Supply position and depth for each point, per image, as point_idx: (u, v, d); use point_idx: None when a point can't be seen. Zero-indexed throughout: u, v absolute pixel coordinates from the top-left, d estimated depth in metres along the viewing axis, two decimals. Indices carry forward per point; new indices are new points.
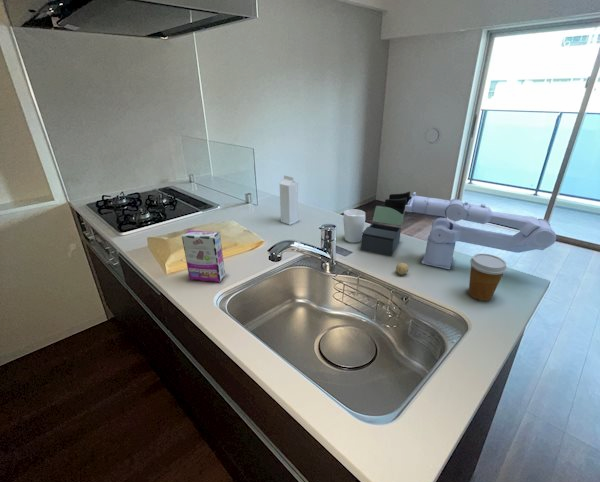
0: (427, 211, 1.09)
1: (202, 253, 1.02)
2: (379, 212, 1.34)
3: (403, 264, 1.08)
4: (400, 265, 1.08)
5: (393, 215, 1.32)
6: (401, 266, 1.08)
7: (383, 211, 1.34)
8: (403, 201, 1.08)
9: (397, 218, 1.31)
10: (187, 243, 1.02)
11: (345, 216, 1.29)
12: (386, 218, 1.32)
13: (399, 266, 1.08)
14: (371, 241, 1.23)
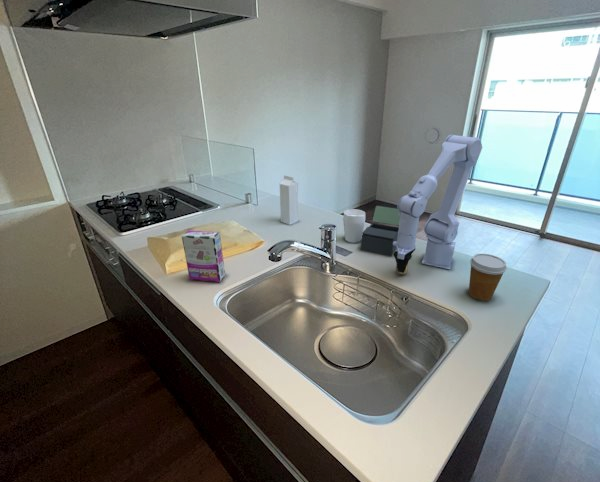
0: (416, 232, 1.02)
1: (202, 253, 1.02)
2: (379, 212, 1.34)
3: None
4: None
5: (393, 215, 1.32)
6: None
7: (383, 211, 1.34)
8: (395, 256, 1.04)
9: (397, 218, 1.31)
10: (187, 243, 1.02)
11: (345, 216, 1.29)
12: (386, 218, 1.32)
13: None
14: (371, 241, 1.23)
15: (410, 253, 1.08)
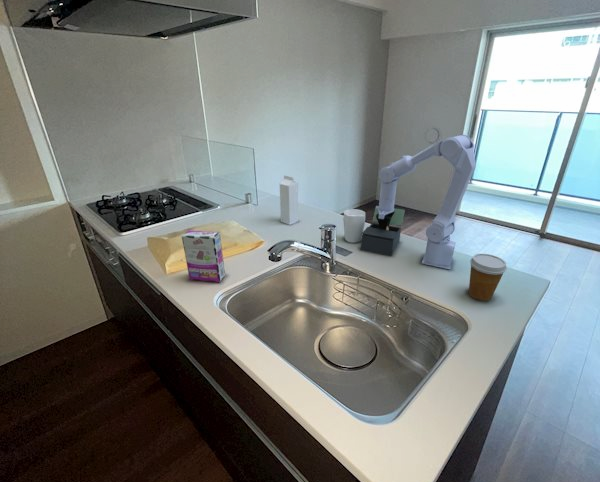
0: (386, 197, 1.21)
1: (202, 253, 1.02)
2: None
3: None
4: None
5: (393, 215, 1.32)
6: None
7: None
8: (377, 217, 1.24)
9: (397, 218, 1.31)
10: (187, 243, 1.02)
11: (345, 216, 1.29)
12: None
13: None
14: (371, 241, 1.23)
15: (390, 216, 1.28)
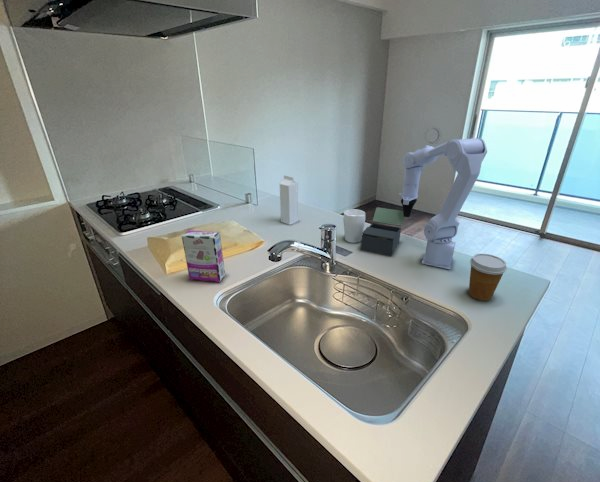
0: (407, 183, 1.23)
1: (202, 253, 1.02)
2: (379, 213, 1.35)
3: None
4: None
5: (393, 216, 1.32)
6: None
7: (383, 212, 1.35)
8: (402, 202, 1.27)
9: (397, 218, 1.31)
10: (187, 243, 1.02)
11: (345, 216, 1.29)
12: (387, 219, 1.33)
13: None
14: (371, 241, 1.23)
15: None
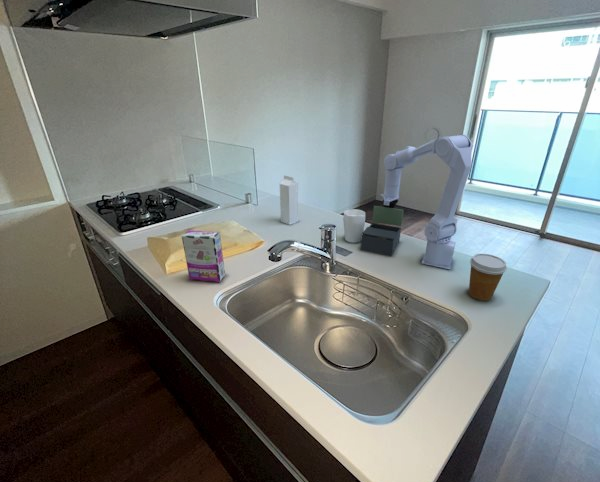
0: (389, 184, 1.25)
1: (202, 253, 1.02)
2: (378, 212, 1.32)
3: None
4: None
5: (392, 215, 1.30)
6: None
7: (381, 211, 1.31)
8: (384, 203, 1.29)
9: (396, 218, 1.29)
10: (187, 243, 1.02)
11: (345, 216, 1.29)
12: (386, 219, 1.31)
13: None
14: (371, 241, 1.23)
15: None
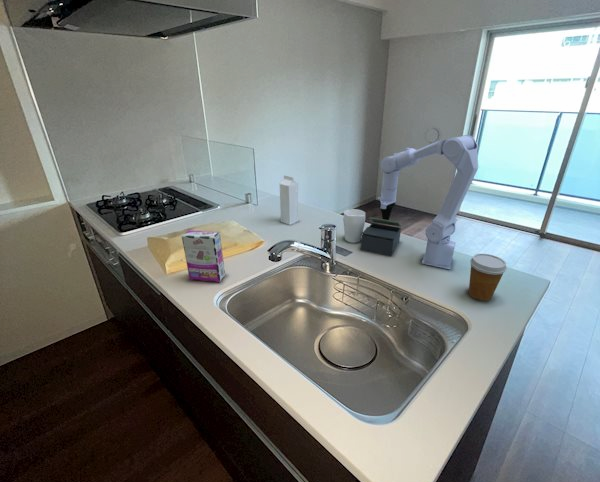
0: (388, 187, 1.21)
1: (202, 253, 1.02)
2: (375, 220, 1.30)
3: None
4: None
5: (389, 223, 1.28)
6: None
7: (378, 220, 1.29)
8: (380, 206, 1.25)
9: (394, 224, 1.28)
10: (187, 243, 1.02)
11: (345, 216, 1.29)
12: (384, 223, 1.31)
13: None
14: (371, 241, 1.23)
15: (391, 208, 1.27)
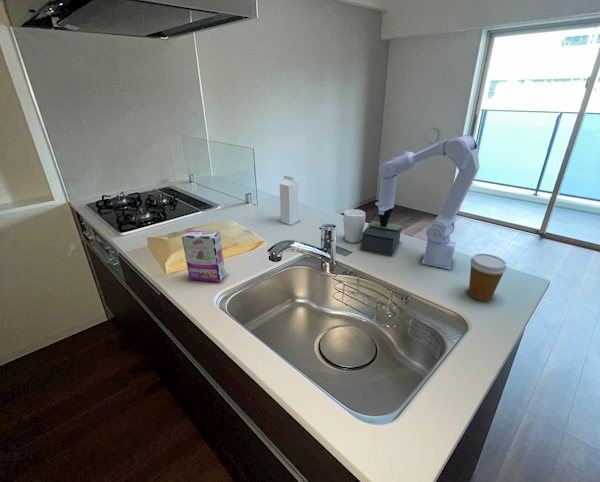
0: (386, 193, 1.19)
1: (202, 253, 1.02)
2: None
3: None
4: None
5: None
6: None
7: None
8: None
9: None
10: (187, 243, 1.02)
11: (345, 216, 1.29)
12: None
13: None
14: (371, 241, 1.23)
15: (389, 213, 1.25)
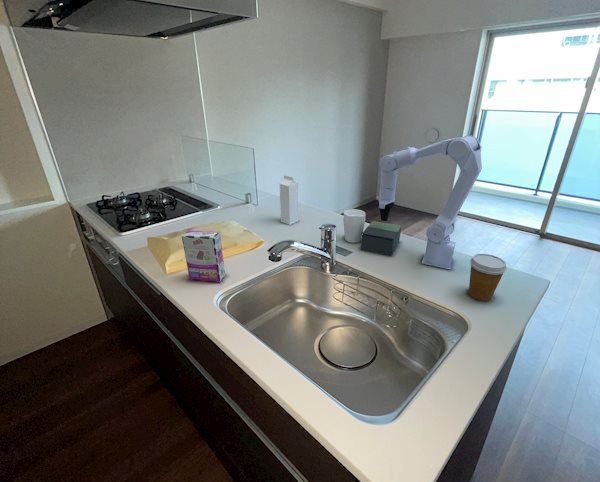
0: (387, 187, 1.18)
1: (202, 253, 1.02)
2: None
3: None
4: None
5: None
6: None
7: None
8: (379, 206, 1.23)
9: None
10: (187, 243, 1.02)
11: (345, 216, 1.29)
12: None
13: None
14: (371, 241, 1.23)
15: None
